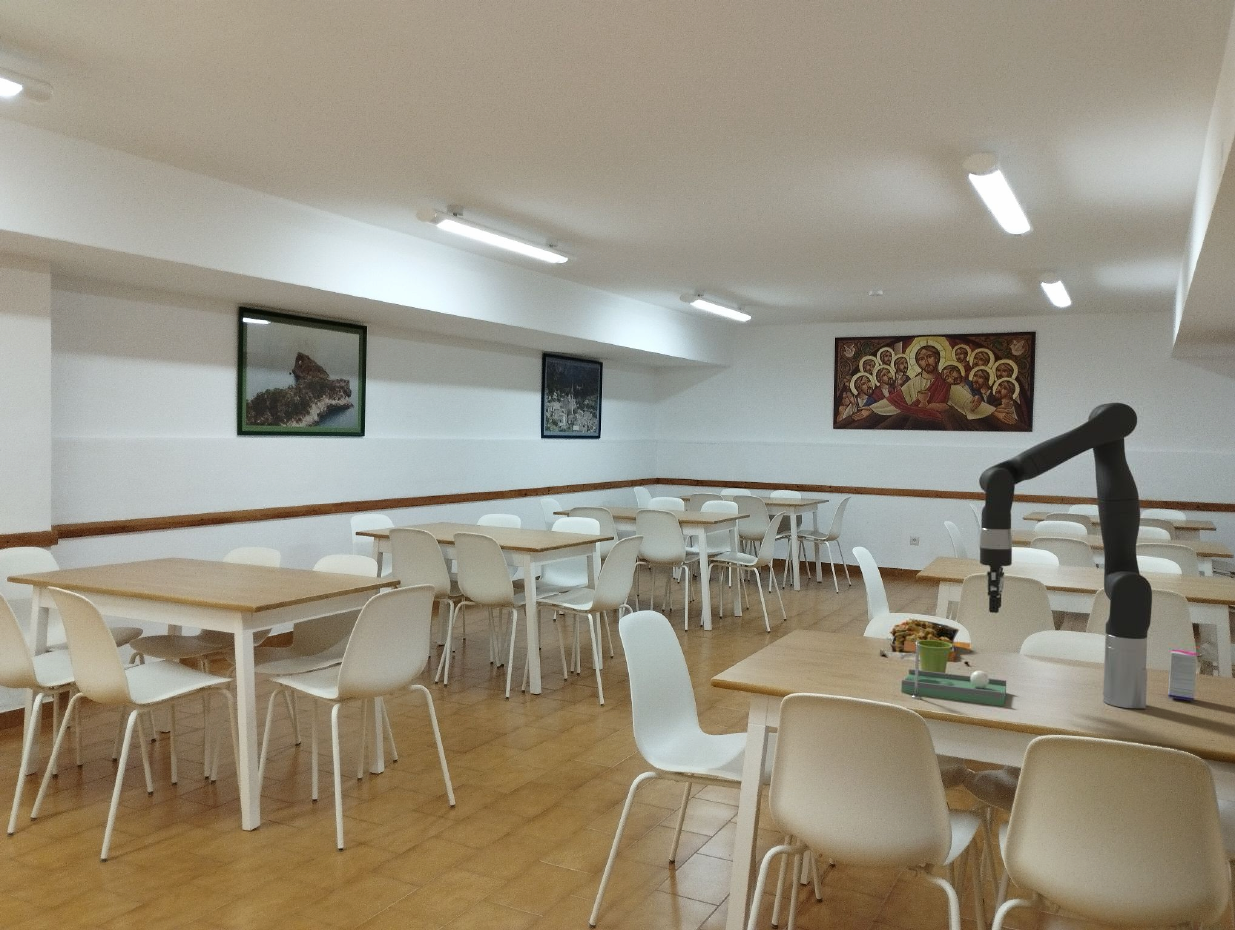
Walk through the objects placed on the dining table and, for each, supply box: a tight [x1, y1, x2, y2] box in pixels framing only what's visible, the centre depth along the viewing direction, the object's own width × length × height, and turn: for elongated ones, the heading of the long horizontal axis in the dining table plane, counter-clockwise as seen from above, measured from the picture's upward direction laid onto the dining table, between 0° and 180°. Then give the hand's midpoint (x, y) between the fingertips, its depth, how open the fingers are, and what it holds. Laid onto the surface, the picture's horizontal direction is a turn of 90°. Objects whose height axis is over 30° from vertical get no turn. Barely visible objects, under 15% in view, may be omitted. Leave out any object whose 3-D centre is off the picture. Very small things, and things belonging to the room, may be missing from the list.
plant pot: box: [917, 640, 952, 673], centre depth 258 cm, size 9×9×9 cm
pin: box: [904, 641, 922, 700], centre depth 234 cm, size 4×2×14 cm, turn 65°
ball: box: [970, 670, 990, 688], centre depth 237 cm, size 4×4×4 cm
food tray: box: [879, 618, 971, 667], centre depth 291 cm, size 35×26×11 cm
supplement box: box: [1167, 648, 1198, 701], centre depth 241 cm, size 6×6×12 cm
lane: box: [900, 668, 1007, 707], centre depth 240 cm, size 24×14×3 cm, turn 65°
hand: (995, 609), depth 239 cm, fingers open, 8 cm apart
